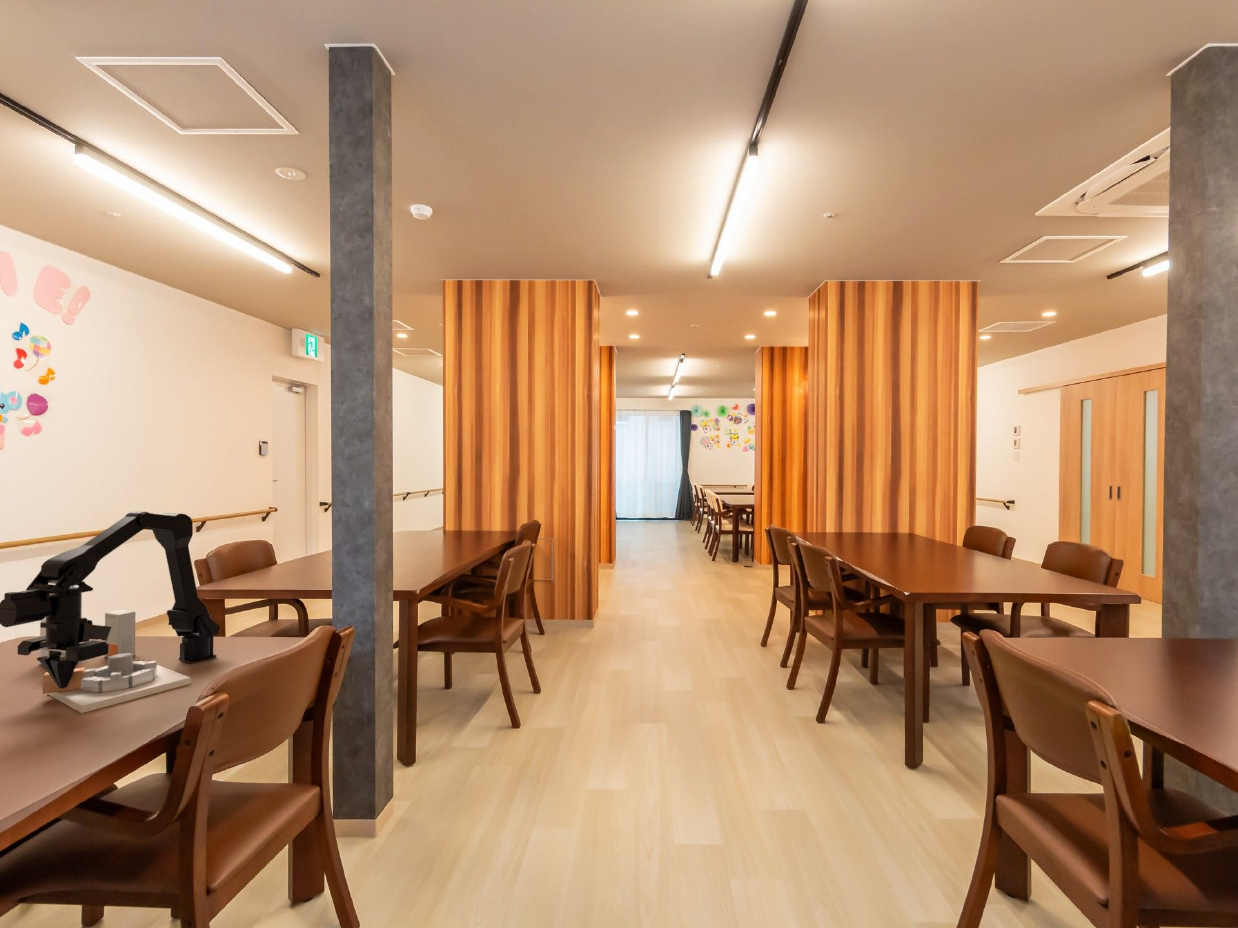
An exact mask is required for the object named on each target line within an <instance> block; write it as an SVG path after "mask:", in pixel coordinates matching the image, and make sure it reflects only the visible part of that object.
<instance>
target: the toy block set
mask: <svg viewBox="0 0 1238 928" xmlns="http://www.w3.org/2000/svg"><path fill="white" fill-rule="evenodd" d="M157 665H158V663H157V660H149V661H146V660H145V661H144V660H140V661H137V660H136V661H133V673H131V674H128V675H122V671H119V672H112V673H111V675H110V677H108V664H107V665H105V666H101V667H98V668H96V667H95V668H86V666H85V667H84V666H83V667H78V668H77V667H75V670H74V672H73V674H72V677H71V679H70V681H69V684H68V686H67V687H66V688H59V687H58V686H57V684H56V683H55V682H54V680H53V679H52V677H51V676H50V674H49V673H48V672H47V671H46V672H44V674H43V675H42V695H45V694H47V693H54V692H60V691H67V690H74V689H81V690H82V691H90V692H101V691H102V692H107V691H114V690H120V689H127V688H129V687H135V686H138V685H141V684H143V683H146V682H149V681H152V680H153V679H155V676H156V674H157ZM47 695H48V694H47Z"/></svg>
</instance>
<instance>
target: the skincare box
mask: <svg viewBox="0 0 1238 928" xmlns="http://www.w3.org/2000/svg"><path fill="white" fill-rule="evenodd" d="M104 614H105V615H104V626H109V627H111V630H110V633H109V636H108V638H107V641H104V642H106V643H107V644H109V654H106V655H104V657H105V658H108V657H110V656H113V655H117V654H123V653H131V654H133V656H135V655H136V611H133V610H128V609H126V610H125V609H117V610H111V611H107V612H104Z"/></svg>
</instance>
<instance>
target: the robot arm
mask: <svg viewBox="0 0 1238 928" xmlns="http://www.w3.org/2000/svg"><path fill="white" fill-rule="evenodd" d="M193 525H194V524H193V520H192V518H191V516H189V515H188V514H186V513H176V512H175V513H174V512H173V513H172V512H163V513H159V514H158V513H152V512H151V513H150V512H148V511H139V510H138V511H137V510H136V511H133V510H132V511H130V512H128V513H126V514H125V515H124V517H122V518H121V519H120V520H118V521H116V522H115V523H113V524H112V525H111V526H109V527H108V528H106V529H105V530H103V531H101V532H99V534H97V535H96V536H94V537H92V538H91V539H89V540H88V541H87V542H85V543H84V544H82V545H79V546H78V547H76V548H72V549H69V550H66V551H64V552H60V553H59V554H56V555H54V556H52V557H50V558H48V559H47V560H45V561H44V562H43V563H42V565H41V566H40V570H39V572H38V573H37V575H36V576H35V577H34V579H33V580H32V581H31V582H30V584H29V585H28V586H27V588H26V589H25V590H22V591H10V592H5V593H4V596H3V599H2V600H1V601H0V625H1V626H2V627H4V628H10V627H14V626H19V625H25V624H31V623H35V622H39V621H40V622H41V620H43V619H44V618H45V617H46V622H41V623H40V625H39V628H40V627H41V628H46V636H42V637H40V636H38V637H35V638H33V637H32V638H28V639H25V640H22V641H21V642H20V643H19V644H18V645H17V655H20V656H29V655H31V653H32V652H35V651H39V652H40V651H41V657H40V656H39V657H37V658H36V661H38V662H39V664H40V663H41V664H42V667H43V668H44V669H45V670H46V672H48V673H49V674H50V676H51V677H52V679H53V680H54V682H55V683H56V684H57V686H58V687H59V688H66V687H67V686H68V684H69V681H70V679H71V677H72V674H73V672H74V670H75V668H77V665H78V664H79V663H80V662H84V661H88V660H91V659H95V658H98V657H103V656H105V655H106V654H109V644H107V643H106V642H105V641H107V638H108V636H109V633H110V630H111V627H109V626H105V625H97V624H93V620H90V619H88V618H86V617H82V610H83V609H82V607H83V605H82V604H83V603H82V601H83V600H82V599H83V598H82V597H83V596H82V595H83V594H82V593H87V592H92V591H94V587H92V586H90V585H88V584H87V583H86V582H85V579H87V578H88V577H89V576H90V575H91V574H92V573H93V572H94V571H95V570H96V568H97V565H98V564H99V563H100V562H101V560H102V559H104V557H106V556H108V555H109V554H110V553H112V552H113V551H114V550H116V549H117V548H119V547H121V546H122V545H123V544H125V543H126V542H127V541H128V540H130V539H132V538H133V537H134V536H136V535H137V534H139V533H141V532H142V531H143V530H149V531H152V533H153V536H154V538H155V539H156V541H157V542H158V543H159V544H160V546H161V547H162V548H163V549H164V552H165V558H166V562H167V563H166V564H167V567H168V572H169V577H170V582H171V583H170V584H171V586H172V592H173V597H174V603H173V605H172V608H171V609H168V610H166V615H167V617H168V624H167V625H168V626H170V627H171V628H172V630H175V633H176V636H177V637H181V643H179V657H178V660H180V661H183V662H184V663H187V664H193V663H197V662H201V661H205V660H206V661H207V660H210V659H214V658H217V654H216V653H215V654H214V636H217V635H218V634H219V631H220V629H221V626H220V625H219V624H218V623H217V622H215V621H214V620H213V619H212V618H211V615H210V613H209V609H208V607H207V605H206V604H205V603H204V602H203V600H201V599H200V597H199V595H198V594H199V593H198V590H197V584H196V580H195V574H194V569H193V568H194V567H193V564H192V558H191V554H190V553H191V552H190V548H189V545H190V542H191V539H192V538H193V535H194V534H193V533H194V530H193V529H194V528H193ZM80 643H81V644H80ZM41 664H40V665H41Z"/></svg>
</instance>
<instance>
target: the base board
mask: <svg viewBox="0 0 1238 928" xmlns="http://www.w3.org/2000/svg"><path fill="white" fill-rule="evenodd" d="M133 662H134V661H133V654H131V653H123V654H117V655H113V656H110V657H107V665H108V677H110V675H111V673H112V672H119V671H122V675H128V674H131V673H133ZM190 684H191V677H190V676H187V675H185V674H181V673H179V672H176V671H174V670H171V669H168V668H166V667H164V666H161V665H159V664H157V674H156V676H155V679H153V680H152V681H149V682H146V683H143V684H141V685H138V686H135V687H129V688H127V689H120V690H114V691H107V692H102V691H101V692H90V691H82V690H81V689H74V690H67V691H60V692H54V693H47V695H49V696H50V697H52V698H53V699H56V700H57V701H59V702H61V703H63V704H65V705H66V706H68V707H70V708H72V709H74V710H76V712H79V713H80V714H83V713H87V712H90V711H94V710H98V709H102V708H105V707H109V706H112V705H117V704H120V703H124V702H127V701H131V700H136V699H138V698H143V697H146V696H150V695H153V694H157V693H161V692H166V691H169V690H173V689H177V688H179V687H184V686H187V685H190Z"/></svg>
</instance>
